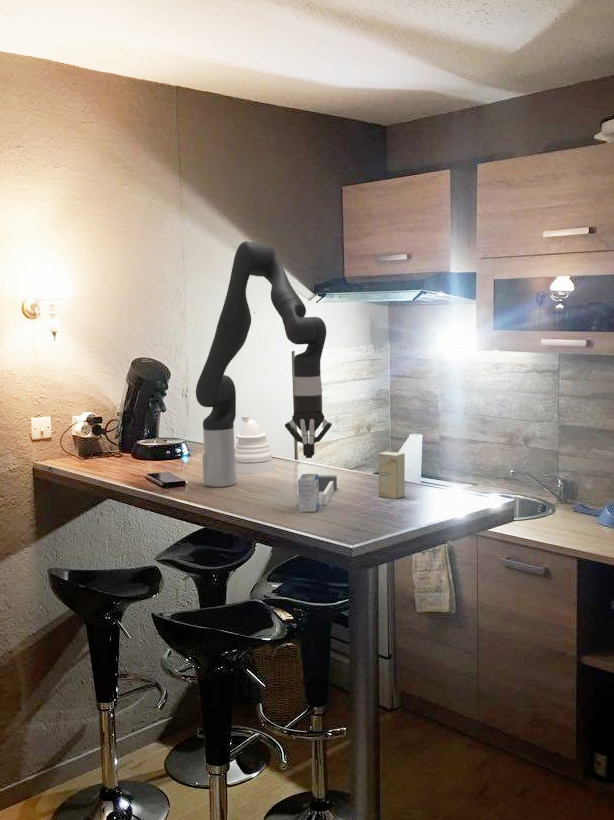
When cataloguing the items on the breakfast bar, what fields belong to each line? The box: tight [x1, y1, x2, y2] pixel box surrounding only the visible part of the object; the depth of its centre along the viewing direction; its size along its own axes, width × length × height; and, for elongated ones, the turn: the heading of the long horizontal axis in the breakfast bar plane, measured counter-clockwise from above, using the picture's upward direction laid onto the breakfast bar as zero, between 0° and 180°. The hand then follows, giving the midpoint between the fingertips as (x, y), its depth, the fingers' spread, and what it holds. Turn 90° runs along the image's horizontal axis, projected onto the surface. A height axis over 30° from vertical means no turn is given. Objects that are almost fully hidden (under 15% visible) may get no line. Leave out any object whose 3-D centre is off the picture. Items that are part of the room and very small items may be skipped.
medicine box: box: [297, 473, 320, 513], centre depth 221 cm, size 8×4×9 cm, turn 172°
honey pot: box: [235, 415, 274, 475], centre depth 278 cm, size 13×13×18 cm
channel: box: [296, 474, 338, 506], centre depth 236 cm, size 9×20×4 cm, turn 171°
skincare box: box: [378, 451, 406, 500], centre depth 232 cm, size 6×4×12 cm
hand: (309, 457), depth 225 cm, fingers closed
